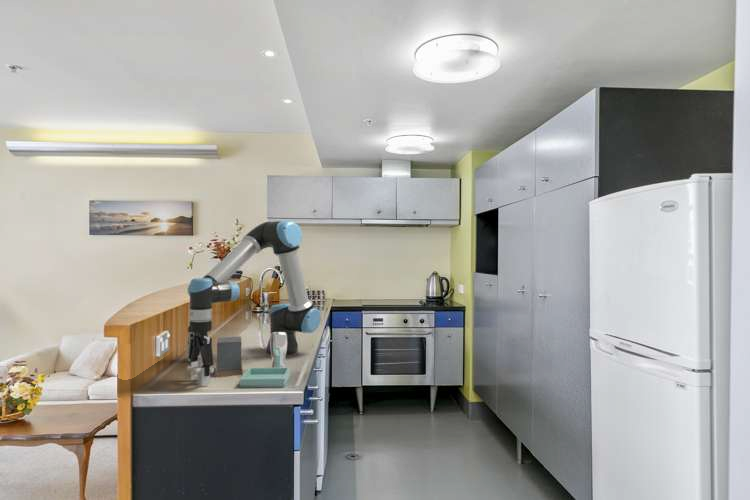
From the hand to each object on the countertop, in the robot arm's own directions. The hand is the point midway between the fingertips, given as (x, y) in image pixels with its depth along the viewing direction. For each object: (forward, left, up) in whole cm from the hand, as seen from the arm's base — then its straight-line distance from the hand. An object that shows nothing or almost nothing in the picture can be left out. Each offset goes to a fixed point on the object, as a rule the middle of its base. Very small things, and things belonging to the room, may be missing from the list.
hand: (200, 381), depth 161 cm
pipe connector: (0, 0, -1) cm, 1 cm away
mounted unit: (-15, -8, 0) cm, 17 cm away
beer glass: (-31, +3, -1) cm, 31 cm away
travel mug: (-13, -35, -1) cm, 37 cm away
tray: (-19, +14, 0) cm, 24 cm away
